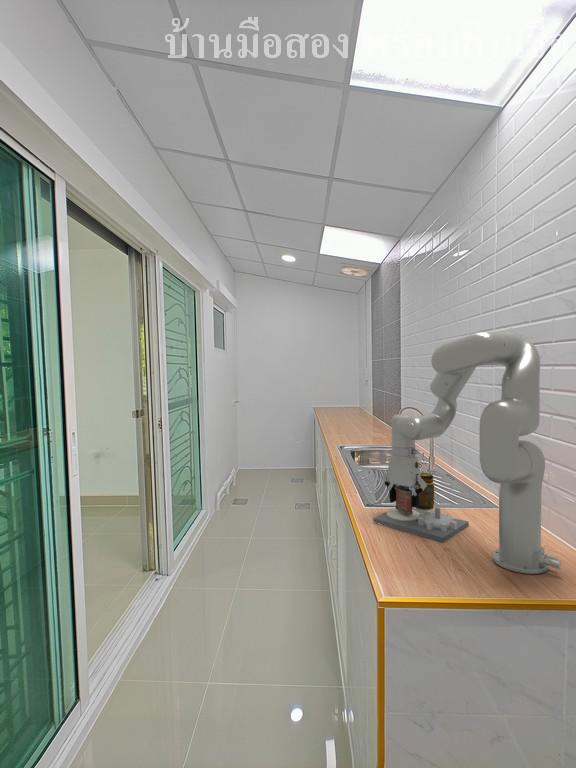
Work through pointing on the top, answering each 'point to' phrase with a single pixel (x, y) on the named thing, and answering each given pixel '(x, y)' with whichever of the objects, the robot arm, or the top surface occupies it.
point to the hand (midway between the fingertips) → (403, 503)
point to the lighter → (404, 500)
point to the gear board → (419, 528)
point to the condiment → (427, 494)
